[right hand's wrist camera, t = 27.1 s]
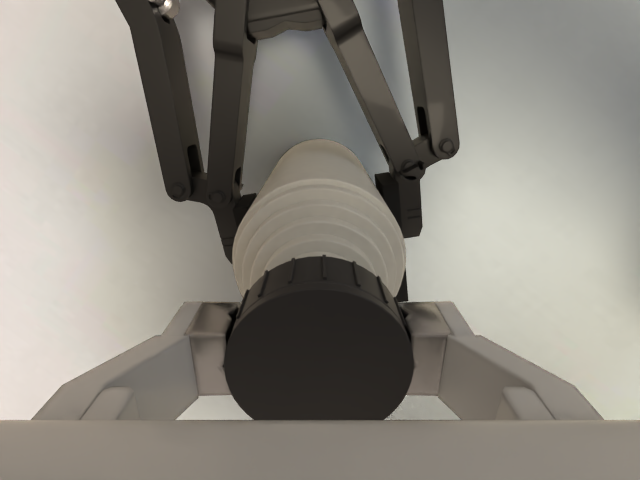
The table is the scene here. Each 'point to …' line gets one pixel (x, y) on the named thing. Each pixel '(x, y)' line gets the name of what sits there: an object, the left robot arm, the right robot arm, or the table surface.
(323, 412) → the cap
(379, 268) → the bottle
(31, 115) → the table surface
